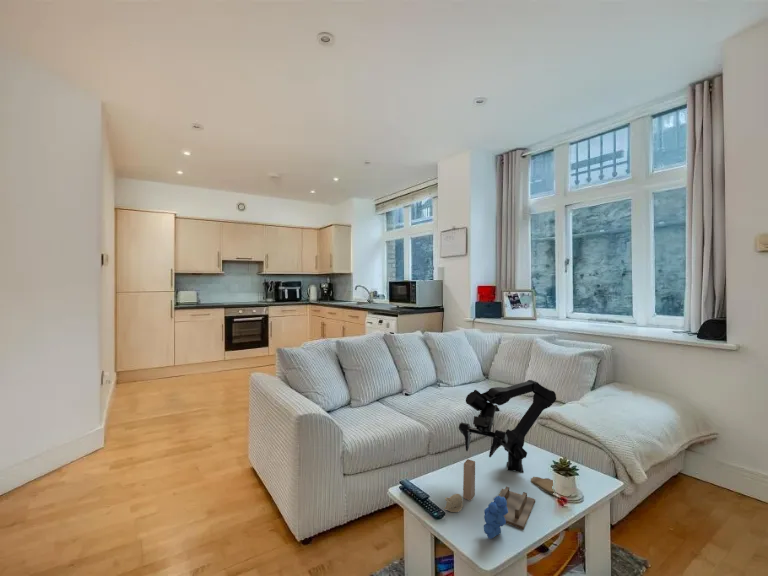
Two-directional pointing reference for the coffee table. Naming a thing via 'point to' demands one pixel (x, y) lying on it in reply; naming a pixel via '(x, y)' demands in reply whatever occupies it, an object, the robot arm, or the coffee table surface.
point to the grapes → (495, 516)
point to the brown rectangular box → (469, 480)
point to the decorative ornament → (454, 503)
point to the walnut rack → (517, 507)
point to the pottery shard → (543, 484)
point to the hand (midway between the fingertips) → (477, 453)
